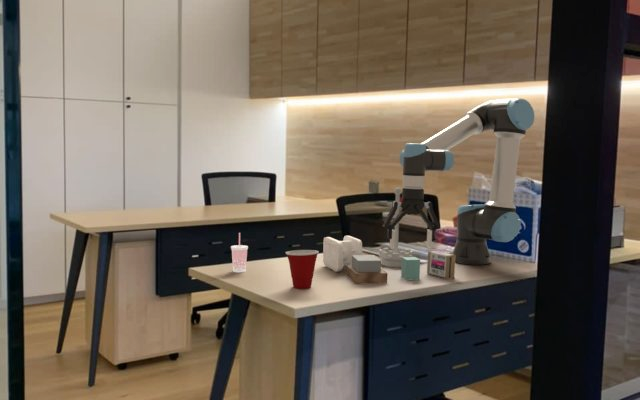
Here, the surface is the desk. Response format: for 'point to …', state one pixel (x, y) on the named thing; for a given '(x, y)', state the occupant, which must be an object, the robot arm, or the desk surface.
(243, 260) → the beverage cup
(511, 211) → the robot arm
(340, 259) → the cable organizer
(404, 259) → the teal block
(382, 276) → the walnut slab
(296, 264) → the plastic cup
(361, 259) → the grey slab
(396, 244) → the flag stand
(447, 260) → the ink box
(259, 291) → the desk surface
